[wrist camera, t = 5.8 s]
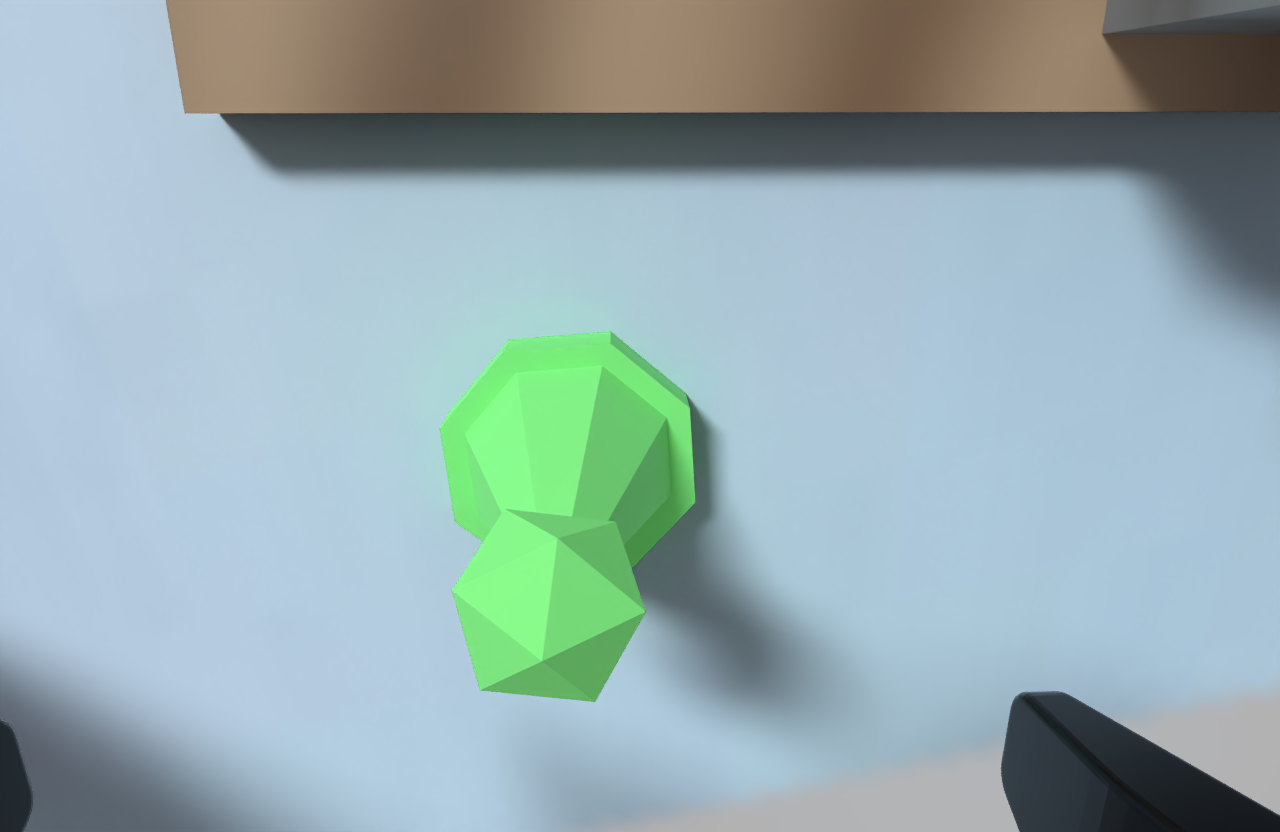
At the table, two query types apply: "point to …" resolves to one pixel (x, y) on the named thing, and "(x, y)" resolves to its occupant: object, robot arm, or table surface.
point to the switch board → (726, 56)
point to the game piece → (562, 506)
